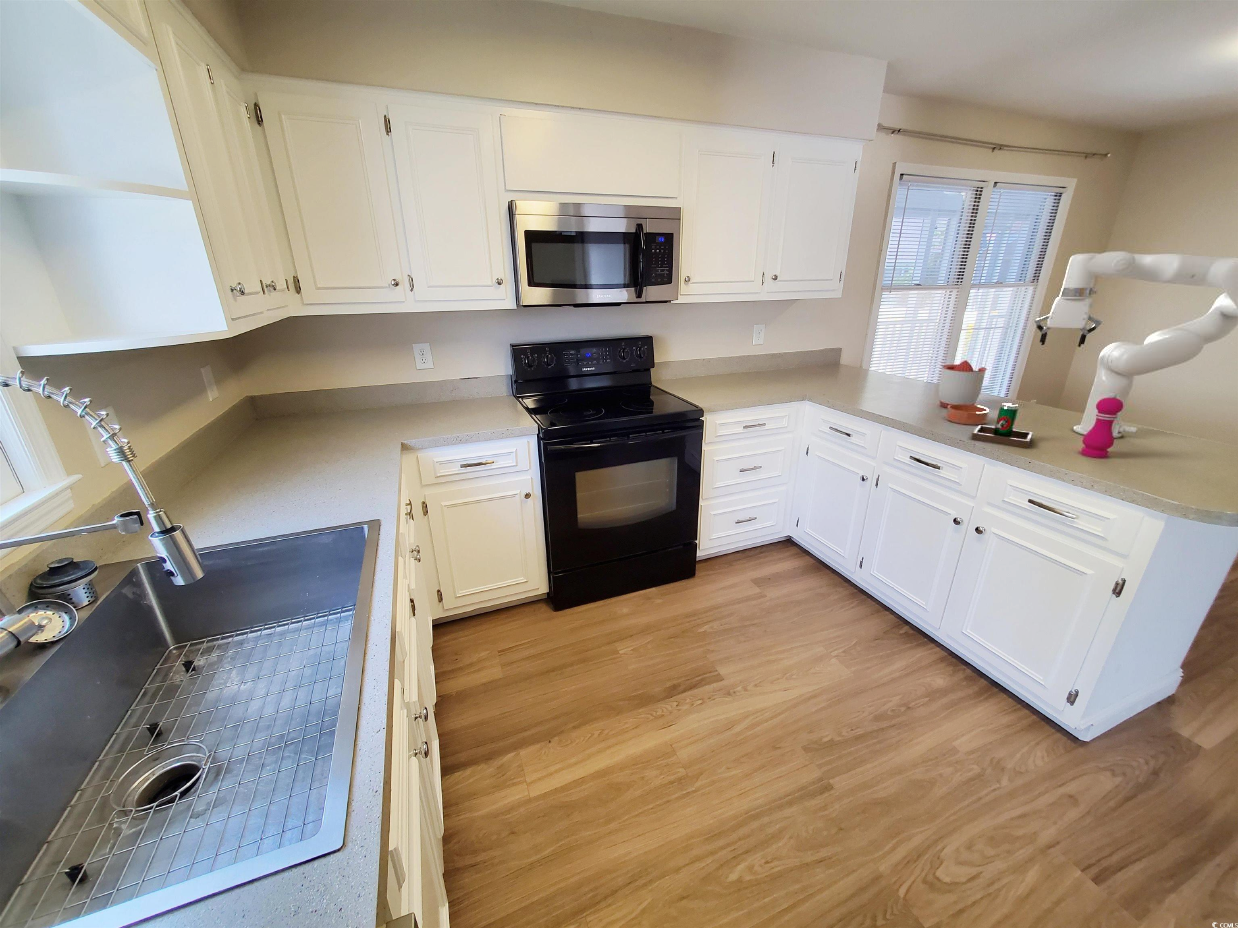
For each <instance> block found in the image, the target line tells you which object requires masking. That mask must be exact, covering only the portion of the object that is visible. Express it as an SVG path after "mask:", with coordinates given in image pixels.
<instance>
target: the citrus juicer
mask: <svg viewBox="0 0 1238 928" xmlns="http://www.w3.org/2000/svg"><path fill="white" fill-rule="evenodd" d="M941 368H942V369H941V374H940V379H939V384H938V401H939V402H938V403H939V405H940V406H941V407H944V408H946V409H948V406H949V405H954V404H968V405H975V404H976V402H977V401H978V400H979V397H980V395H981V392H982V388H983V384H984V379H985V375H986V371H987V367H985V366H982V367H979V368H978V370H974V368H973V366H972V364H971V363H970V362H969V361H968V360H966V359H964V360H962V361H961V362H960V363H959V364H955V363H953V364H945V365H942V367H941Z"/></svg>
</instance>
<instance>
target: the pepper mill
mask: <svg viewBox="0 0 1238 928" xmlns="http://www.w3.org/2000/svg"><path fill="white" fill-rule="evenodd" d="M1116 397H1117V394H1116V393H1111V394H1109V397H1108V398H1103V399H1101V400H1099V401H1098V402H1097V404H1096V409H1097V410H1098V412H1096V415H1095V417H1096V422H1095V424H1094V426H1093V427H1092V428H1091V429H1090V430H1089V431H1088V432H1087V433H1086V434H1085V435H1084V436H1083V437H1082V439H1081V442H1082V444H1083V446H1082V447H1081V448H1080V454H1081V455H1083V456H1085V457H1086V456H1087V457H1090V458H1095V459H1105V458H1107V457H1108V455H1109V449H1111V448H1112V447H1113V446H1114V444H1115V438H1114V437H1113V433H1112V425H1113V422H1114V420H1116V419H1117V416H1118V414H1117V413H1119V412H1120V411H1122V409H1123V402H1122V401H1121V400H1119V399H1117V398H1116Z"/></svg>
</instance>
